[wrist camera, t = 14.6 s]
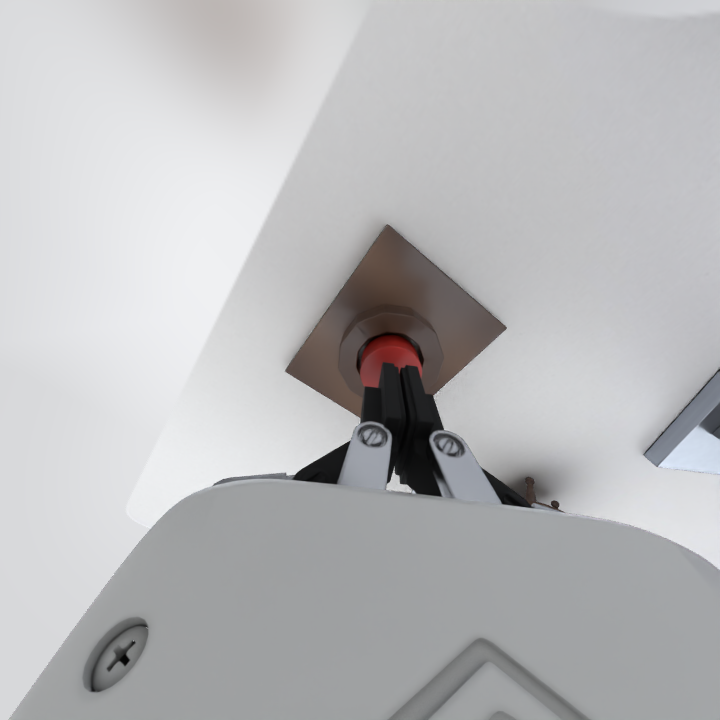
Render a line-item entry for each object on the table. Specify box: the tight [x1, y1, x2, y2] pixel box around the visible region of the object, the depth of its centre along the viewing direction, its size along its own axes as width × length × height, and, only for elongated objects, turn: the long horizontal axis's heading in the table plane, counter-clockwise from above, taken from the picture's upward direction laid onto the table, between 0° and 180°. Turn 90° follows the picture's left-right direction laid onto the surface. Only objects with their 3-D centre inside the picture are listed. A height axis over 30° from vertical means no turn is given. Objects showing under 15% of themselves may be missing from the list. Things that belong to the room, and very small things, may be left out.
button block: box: [285, 225, 507, 418], centre depth 17 cm, size 12×10×2 cm
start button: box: [360, 335, 422, 388], centre depth 16 cm, size 4×4×2 cm
